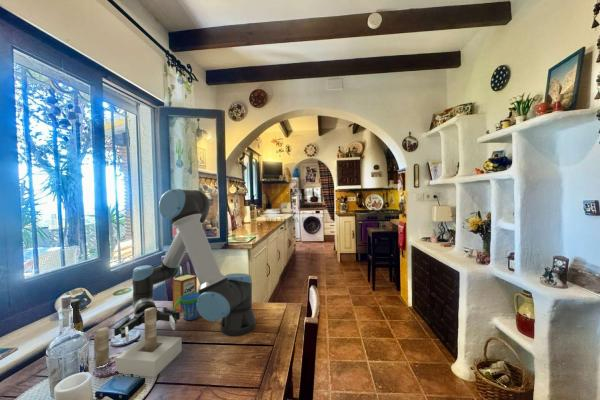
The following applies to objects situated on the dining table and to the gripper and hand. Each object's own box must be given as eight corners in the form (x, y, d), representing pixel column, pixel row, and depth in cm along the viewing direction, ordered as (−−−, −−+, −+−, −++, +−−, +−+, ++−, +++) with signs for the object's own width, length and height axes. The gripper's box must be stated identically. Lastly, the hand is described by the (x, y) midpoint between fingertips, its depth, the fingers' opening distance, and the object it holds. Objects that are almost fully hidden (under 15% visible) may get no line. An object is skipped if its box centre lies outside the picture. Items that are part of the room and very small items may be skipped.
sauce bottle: (68, 362, 87) (68, 305, 87) (53, 360, 88) (53, 303, 88) (87, 351, 93) (87, 298, 93) (74, 349, 94) (74, 296, 94)
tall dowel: (158, 358, 88) (158, 307, 89) (151, 365, 85) (151, 312, 85) (149, 357, 89) (149, 307, 89) (142, 364, 85) (142, 311, 86)
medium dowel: (111, 362, 87) (111, 327, 87) (102, 369, 83) (102, 332, 83) (102, 361, 87) (102, 326, 87) (92, 368, 84) (92, 332, 84)
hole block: (181, 351, 93) (181, 337, 93) (154, 377, 79) (154, 361, 79) (147, 348, 95) (147, 334, 95) (115, 373, 81) (115, 357, 81)
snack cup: (175, 326, 112) (175, 303, 112) (172, 317, 120) (172, 296, 120) (211, 317, 120) (211, 295, 120) (206, 309, 129) (206, 289, 129)
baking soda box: (188, 303, 137) (188, 273, 137) (196, 305, 134) (196, 275, 135) (172, 309, 129) (172, 278, 129) (181, 312, 126) (181, 280, 126)
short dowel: (109, 354, 91) (109, 332, 91) (100, 360, 88) (100, 337, 88) (100, 353, 92) (100, 331, 92) (91, 359, 88) (91, 336, 88)
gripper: (178, 311, 109) (191, 331, 92) (106, 329, 94) (104, 357, 77) (178, 294, 109) (191, 311, 92) (106, 309, 94) (104, 332, 77)
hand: (151, 332), depth 84 cm, fingers open, 13 cm apart
